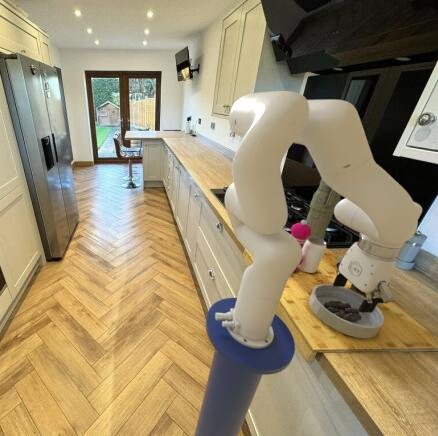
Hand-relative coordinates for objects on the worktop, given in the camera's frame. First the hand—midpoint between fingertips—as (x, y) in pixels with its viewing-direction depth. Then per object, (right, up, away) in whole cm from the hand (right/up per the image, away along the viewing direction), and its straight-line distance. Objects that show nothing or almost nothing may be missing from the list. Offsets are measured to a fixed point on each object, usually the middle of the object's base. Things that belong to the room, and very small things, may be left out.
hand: (350, 297), depth 66 cm
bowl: (-1, -6, +3) cm, 7 cm away
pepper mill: (-4, +4, +23) cm, 23 cm away
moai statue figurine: (+14, +10, +38) cm, 42 cm away
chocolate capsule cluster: (-1, -5, +3) cm, 6 cm away
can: (+3, +3, +23) cm, 23 cm away
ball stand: (+11, -3, +10) cm, 15 cm away
